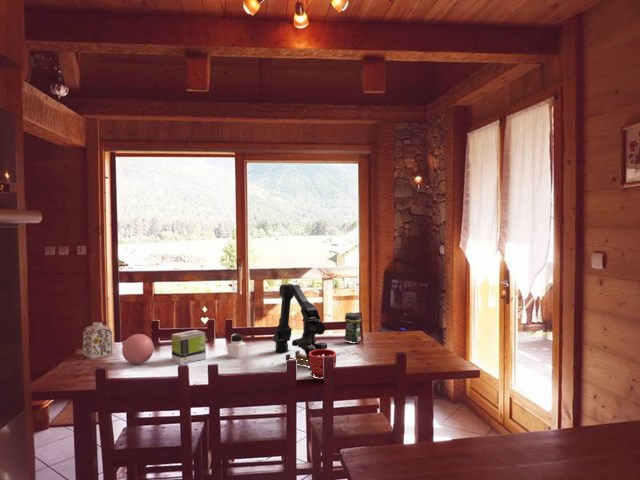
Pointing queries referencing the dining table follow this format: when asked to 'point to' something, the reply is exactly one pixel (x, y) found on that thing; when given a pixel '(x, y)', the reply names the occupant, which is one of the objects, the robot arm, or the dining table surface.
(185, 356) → the tea box
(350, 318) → the coffee jar
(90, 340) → the decorative jar
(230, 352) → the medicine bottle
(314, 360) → the plant pot
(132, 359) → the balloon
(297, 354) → the chute
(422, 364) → the dining table surface
